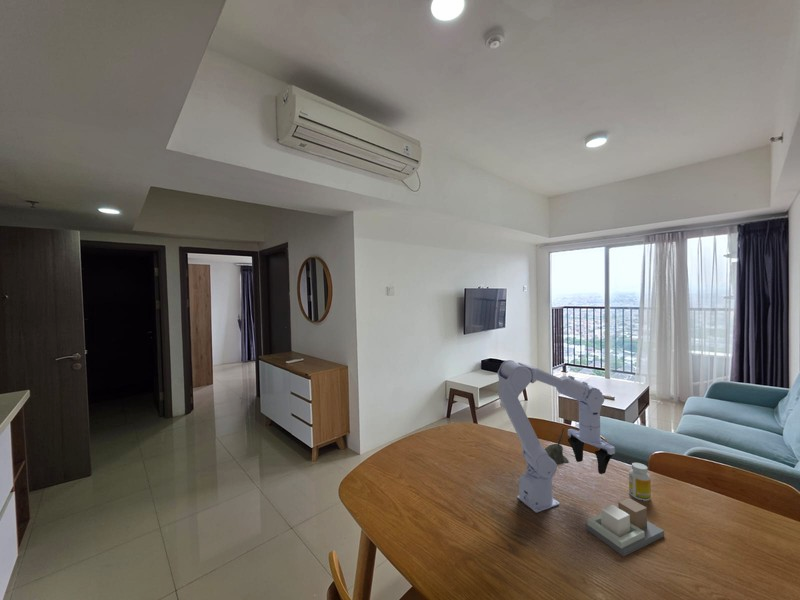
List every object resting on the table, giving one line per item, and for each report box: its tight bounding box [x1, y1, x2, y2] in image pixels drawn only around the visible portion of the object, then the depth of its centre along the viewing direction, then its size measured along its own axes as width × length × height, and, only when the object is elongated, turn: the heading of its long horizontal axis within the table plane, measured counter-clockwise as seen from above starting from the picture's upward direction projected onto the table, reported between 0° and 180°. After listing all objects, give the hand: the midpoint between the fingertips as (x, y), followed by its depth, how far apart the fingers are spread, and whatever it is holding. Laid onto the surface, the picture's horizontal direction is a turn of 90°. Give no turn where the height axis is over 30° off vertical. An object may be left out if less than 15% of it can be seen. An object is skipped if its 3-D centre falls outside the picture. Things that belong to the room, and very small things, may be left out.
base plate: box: [585, 497, 665, 557], centre depth 84 cm, size 16×10×6 cm, turn 112°
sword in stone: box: [544, 427, 570, 464], centre depth 124 cm, size 10×8×12 cm
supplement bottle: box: [628, 462, 652, 502], centre depth 99 cm, size 5×5×10 cm
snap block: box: [600, 504, 630, 538], centre depth 83 cm, size 4×4×5 cm
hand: (590, 466), depth 99 cm, fingers open, 7 cm apart
